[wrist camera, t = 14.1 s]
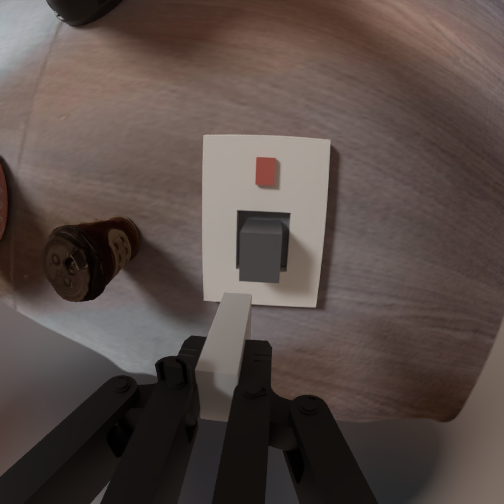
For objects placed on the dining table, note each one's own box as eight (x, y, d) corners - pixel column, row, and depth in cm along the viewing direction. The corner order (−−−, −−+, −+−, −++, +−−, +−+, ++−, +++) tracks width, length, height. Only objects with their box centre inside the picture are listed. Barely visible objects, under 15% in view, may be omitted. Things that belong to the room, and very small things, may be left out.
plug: (246, 218, 35) (239, 232, 28) (280, 220, 35) (282, 234, 28) (245, 259, 36) (238, 281, 30) (278, 261, 36) (279, 283, 29)
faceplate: (207, 136, 33) (201, 134, 30) (327, 141, 32) (331, 139, 29) (207, 294, 38) (202, 303, 36) (313, 300, 38) (316, 310, 35)
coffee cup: (153, 214, 36) (98, 240, 24) (147, 274, 38) (99, 319, 26) (98, 203, 36) (34, 223, 24) (95, 259, 38) (39, 295, 26)
